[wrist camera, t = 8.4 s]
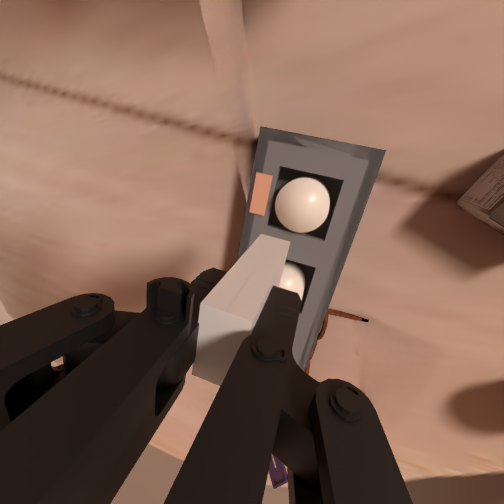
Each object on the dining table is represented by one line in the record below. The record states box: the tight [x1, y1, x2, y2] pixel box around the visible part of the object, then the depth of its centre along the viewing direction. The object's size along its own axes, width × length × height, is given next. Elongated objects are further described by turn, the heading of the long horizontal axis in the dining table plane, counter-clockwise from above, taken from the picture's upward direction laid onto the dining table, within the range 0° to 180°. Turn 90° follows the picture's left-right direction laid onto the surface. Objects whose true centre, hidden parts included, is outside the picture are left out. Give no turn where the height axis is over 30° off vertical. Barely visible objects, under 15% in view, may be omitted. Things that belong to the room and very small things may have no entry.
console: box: [237, 127, 386, 372], centre depth 30 cm, size 30×11×4 cm, turn 169°
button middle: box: [279, 260, 305, 301], centre depth 28 cm, size 5×5×3 cm
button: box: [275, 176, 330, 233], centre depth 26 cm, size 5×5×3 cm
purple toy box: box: [269, 454, 288, 488], centre depth 42 cm, size 7×5×9 cm
